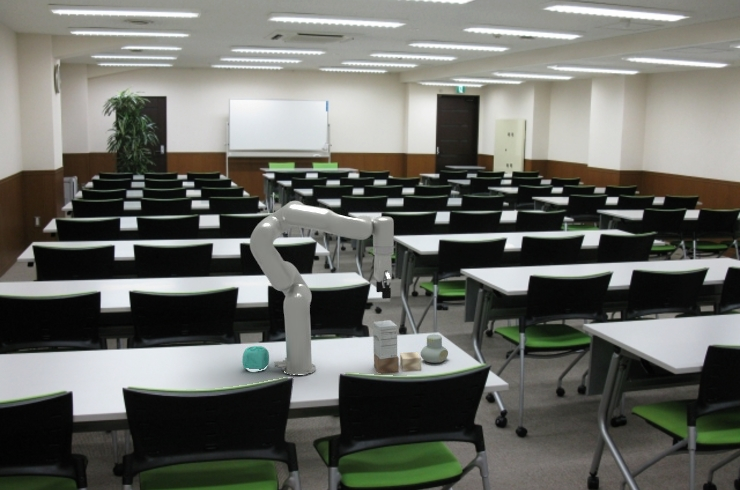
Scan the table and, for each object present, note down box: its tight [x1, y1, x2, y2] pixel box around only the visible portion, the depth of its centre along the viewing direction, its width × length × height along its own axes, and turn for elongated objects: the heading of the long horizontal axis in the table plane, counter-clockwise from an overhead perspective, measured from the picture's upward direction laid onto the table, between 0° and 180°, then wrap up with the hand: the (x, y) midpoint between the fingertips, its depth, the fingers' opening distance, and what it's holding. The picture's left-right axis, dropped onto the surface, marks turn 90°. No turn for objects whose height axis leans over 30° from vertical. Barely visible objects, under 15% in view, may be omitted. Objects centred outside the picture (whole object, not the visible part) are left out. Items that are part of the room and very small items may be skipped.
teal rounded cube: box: [241, 345, 270, 370], centre depth 280 cm, size 8×8×8 cm
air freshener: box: [420, 333, 449, 364], centre depth 286 cm, size 11×8×10 cm
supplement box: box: [372, 319, 398, 359], centre depth 275 cm, size 7×7×13 cm
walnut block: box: [373, 353, 400, 375], centre depth 277 cm, size 8×8×6 cm
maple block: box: [399, 351, 422, 372], centre depth 279 cm, size 7×7×5 cm
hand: (383, 295), depth 272 cm, fingers open, 9 cm apart
